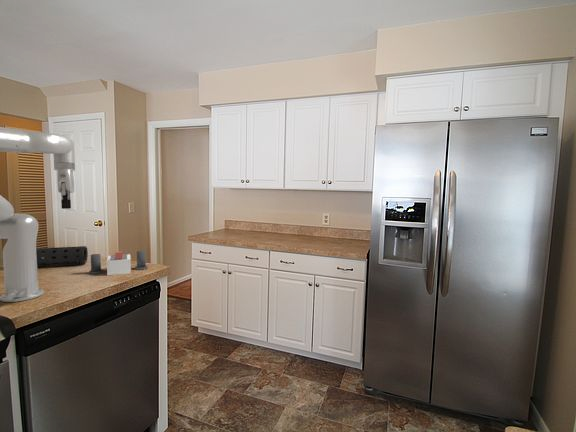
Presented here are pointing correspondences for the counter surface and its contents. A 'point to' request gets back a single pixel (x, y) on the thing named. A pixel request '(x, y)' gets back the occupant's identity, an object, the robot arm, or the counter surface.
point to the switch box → (118, 265)
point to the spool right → (141, 261)
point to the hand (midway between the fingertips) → (66, 208)
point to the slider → (118, 255)
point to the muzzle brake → (61, 256)
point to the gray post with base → (95, 264)
